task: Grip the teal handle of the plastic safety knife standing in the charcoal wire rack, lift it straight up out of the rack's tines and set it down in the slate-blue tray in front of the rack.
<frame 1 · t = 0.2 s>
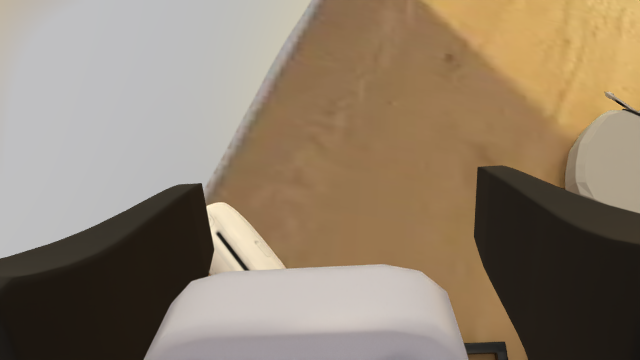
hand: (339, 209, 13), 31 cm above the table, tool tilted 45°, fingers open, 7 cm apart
photo printer: (267, 292, 43), on the table
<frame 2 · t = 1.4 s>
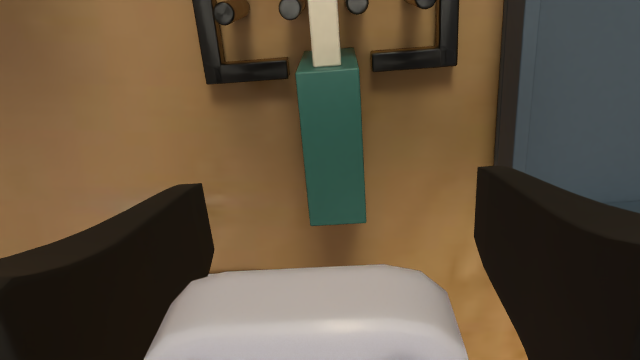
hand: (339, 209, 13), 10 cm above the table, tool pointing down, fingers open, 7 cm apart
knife: (333, 115, 23), on the table
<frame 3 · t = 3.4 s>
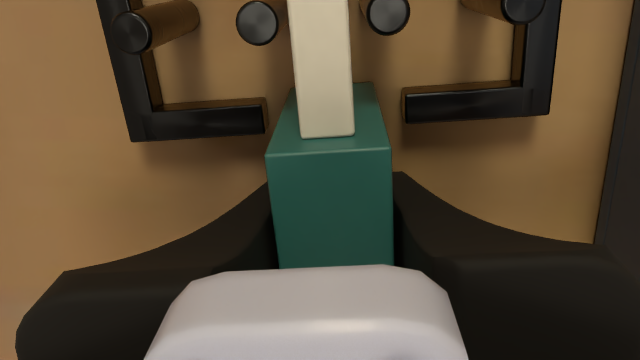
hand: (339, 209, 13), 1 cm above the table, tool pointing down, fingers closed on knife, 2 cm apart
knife: (338, 187, 14), on the table, touching gripper
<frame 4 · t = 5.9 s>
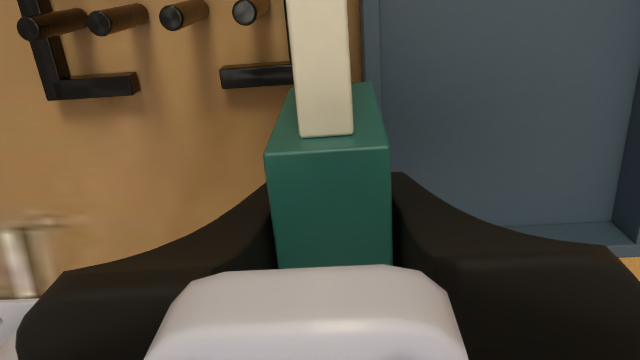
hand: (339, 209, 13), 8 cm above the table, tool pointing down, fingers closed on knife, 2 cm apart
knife: (338, 187, 14), point 7 cm above the table, touching gripper
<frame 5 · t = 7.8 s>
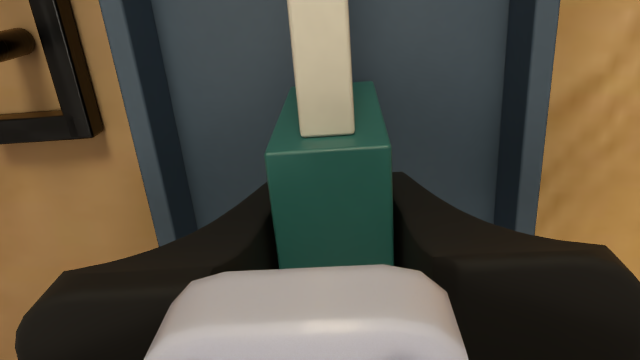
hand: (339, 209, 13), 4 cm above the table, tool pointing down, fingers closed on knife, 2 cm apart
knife: (338, 186, 14), point 2 cm above the table, touching gripper
tray: (329, 16, 14), on the table
when the fingers open (2 cm above the table, at t = 8.7 s): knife stays where it is, resting on tray.
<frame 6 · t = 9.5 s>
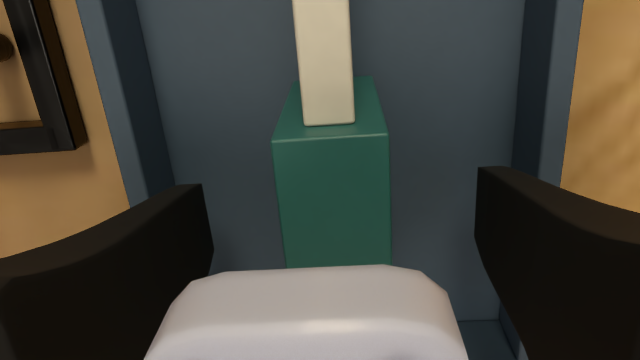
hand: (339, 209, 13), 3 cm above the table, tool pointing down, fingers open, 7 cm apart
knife: (339, 177, 15), resting on tray
tray: (329, 20, 13), on the table
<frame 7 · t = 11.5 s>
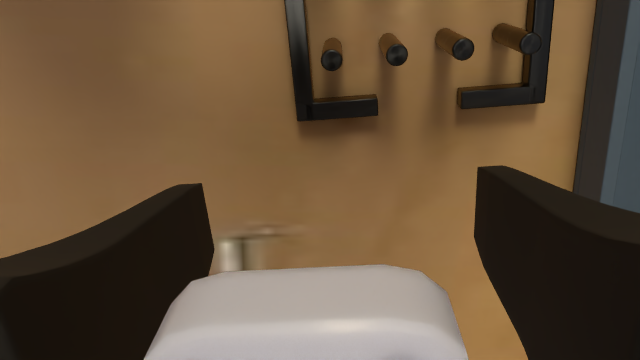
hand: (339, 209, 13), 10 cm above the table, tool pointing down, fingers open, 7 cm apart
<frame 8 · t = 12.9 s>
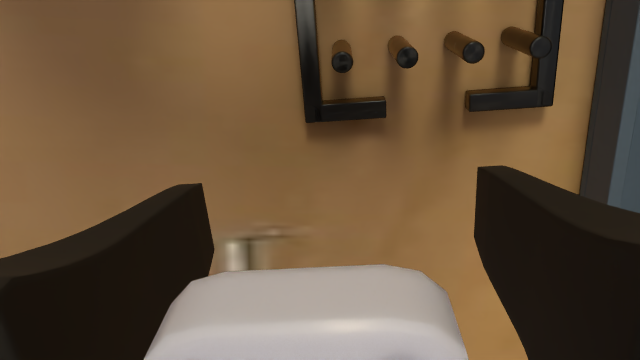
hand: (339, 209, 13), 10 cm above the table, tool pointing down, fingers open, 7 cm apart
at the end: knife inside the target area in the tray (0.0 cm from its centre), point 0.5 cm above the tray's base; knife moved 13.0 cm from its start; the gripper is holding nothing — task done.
